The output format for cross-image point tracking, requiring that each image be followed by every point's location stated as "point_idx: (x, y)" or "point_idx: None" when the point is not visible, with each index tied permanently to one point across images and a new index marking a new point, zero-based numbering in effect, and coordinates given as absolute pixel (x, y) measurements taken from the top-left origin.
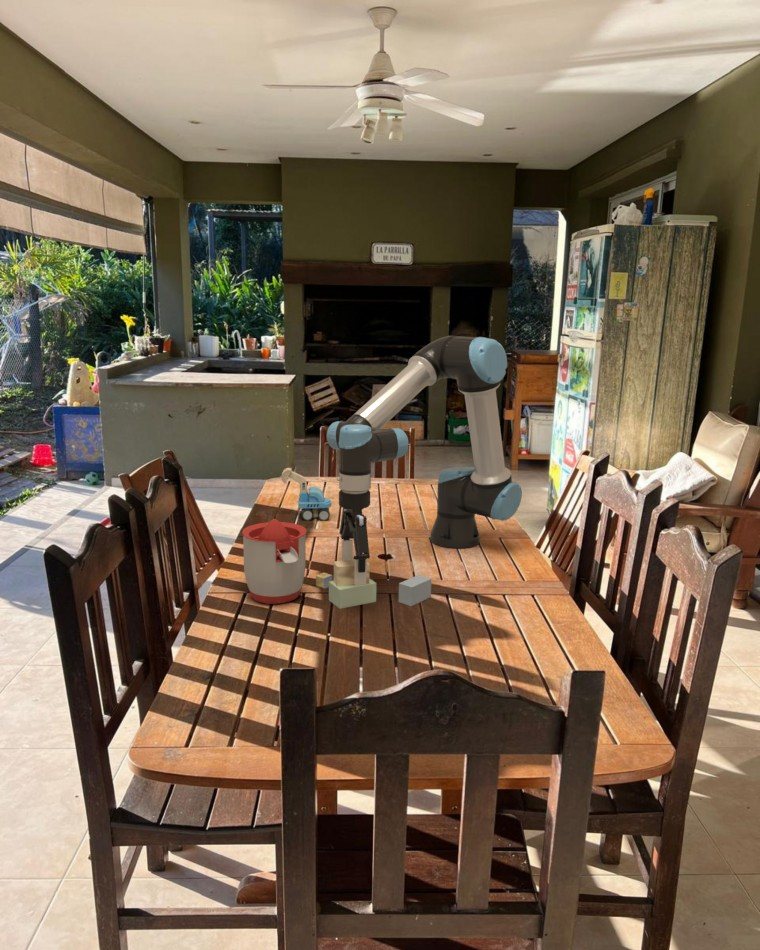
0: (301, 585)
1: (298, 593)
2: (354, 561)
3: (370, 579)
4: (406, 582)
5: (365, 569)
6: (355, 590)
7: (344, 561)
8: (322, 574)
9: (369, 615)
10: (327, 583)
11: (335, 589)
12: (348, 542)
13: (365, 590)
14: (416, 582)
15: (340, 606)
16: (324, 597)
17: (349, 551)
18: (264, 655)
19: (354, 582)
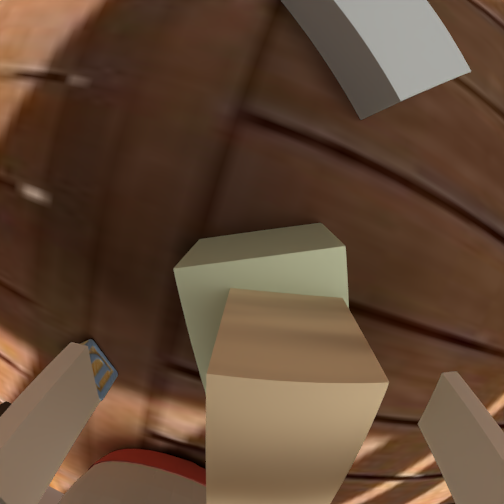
0: (187, 486)
1: (199, 474)
2: (245, 463)
3: (263, 260)
4: (398, 51)
5: (499, 437)
6: None
7: (221, 499)
8: None
9: (436, 301)
10: (101, 369)
11: None
12: (9, 488)
13: None
14: (406, 5)
15: None
16: (203, 401)
17: (43, 429)
18: (446, 500)
19: (421, 429)
